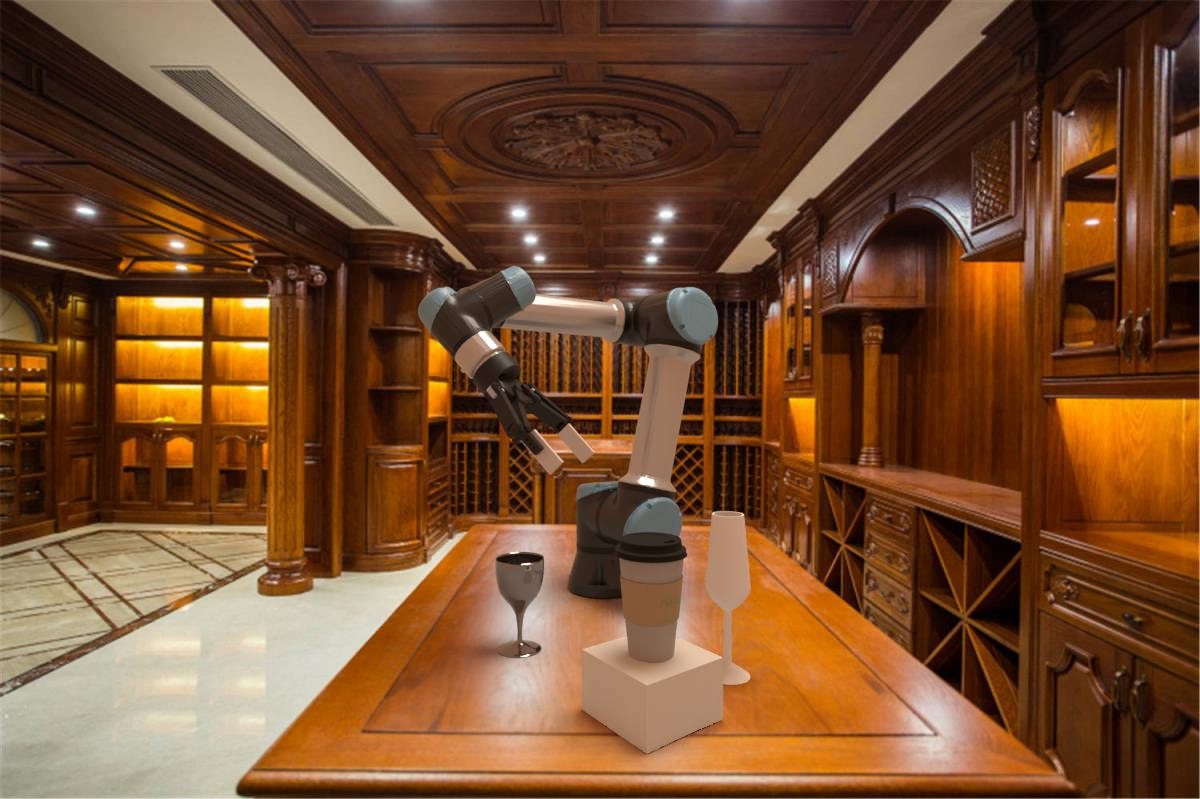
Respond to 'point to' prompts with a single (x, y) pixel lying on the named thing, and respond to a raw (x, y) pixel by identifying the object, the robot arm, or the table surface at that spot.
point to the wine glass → (519, 594)
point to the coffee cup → (651, 592)
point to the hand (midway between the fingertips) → (574, 463)
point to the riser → (652, 692)
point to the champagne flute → (728, 579)
